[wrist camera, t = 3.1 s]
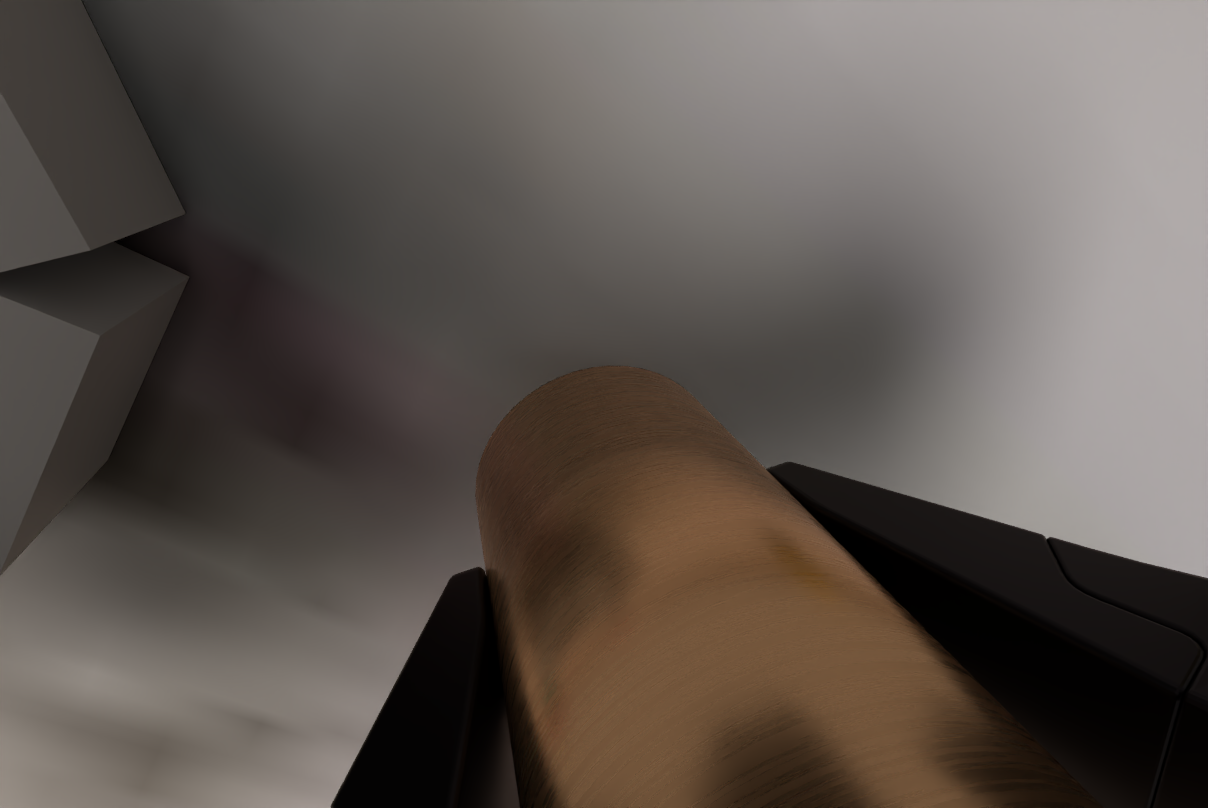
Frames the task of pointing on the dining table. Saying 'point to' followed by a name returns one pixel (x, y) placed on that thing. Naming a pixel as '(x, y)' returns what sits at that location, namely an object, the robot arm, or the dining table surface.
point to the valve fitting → (70, 261)
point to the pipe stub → (712, 629)
